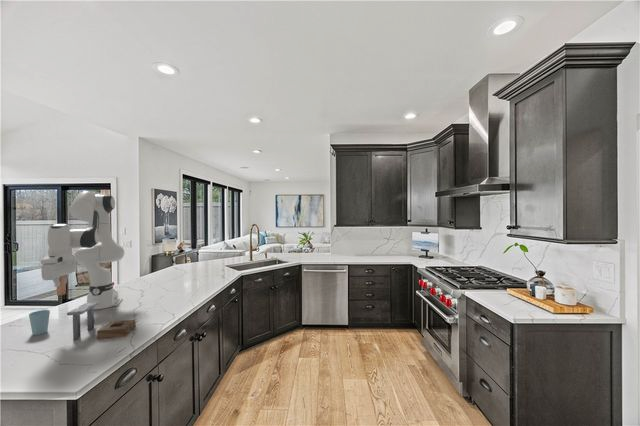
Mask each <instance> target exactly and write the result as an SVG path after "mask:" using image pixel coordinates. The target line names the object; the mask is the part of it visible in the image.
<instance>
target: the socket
mask: <svg viewBox="0 0 640 426" xmlns="http://www.w3.org/2000/svg"><path fill="white" fill-rule="evenodd" d="M136 322H137V321H136V319H126V320H115V321H113V320H112V321H108V322H107V323H106V324H104V325H103V326H102V327H100V328H98V329H97V330H96V334H97V335H96V336H97V340H104V339H115V338H123V337H124V338H125V337H127V336H129V334H130V333H131V332H132V331H133V330H134V329H135V328H136V327H137V324H136Z"/></svg>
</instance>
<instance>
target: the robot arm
mask: <svg viewBox="0 0 640 426" xmlns="http://www.w3.org/2000/svg"><path fill="white" fill-rule="evenodd" d="M115 206H116V200H115V197H114V196H112V195H110V194H95V193H93V192H92V191H87V190H84V191H80V192H79V193H78V194H77V195H76V196H75V197H74V198H73V199H72V200H71V204H70V206H69V209H68V210H69V211H68V212H69V214H70V216H71V217H72V218H74V219H76V220H77V221H82V222H85V223H88V227H87V228H83V229H80V228H79V229H78V228H77V229H71V227H70V225H69V224H68V223H55V224H51V225H50V226H49V227H48V229H47V230H48V231H47V244H48V245H47V246H48V249H47V254H46V255H45V256H43V258H41V260H40V264H41V278H42V280H43V281H52V282H53V283H54V287H56V288H57V287H58V286H61V282H59V279H60V278H59V277H61V276H64V275H65V278H66V284H68V278H69V276H70V274H72V273H75V272H77V270H78V269H77V268H78V267H77V266H78V265H77V264H79V265H81V266H82V267H83V268H84V269H85V270H87V271H86V272H87V273H88V276H89V277H88V278H89V288H88V290H89V291H88V294H87V295H86V303H95V302H98V305H97V306H95V307H94V311H95V310H102V309H103V310H104V309H107V308H111V307H115V306H119V304H120V303H121V302H122V301H123V297H119V292H118V290H117V289H115V288H114V285H115V282H114V281H113V282H112V272H111V270H109V269H108V268H105V267H102V266H101V265H100V264H101V263H102V264H103V263H113V262H117V261H121V260H122V259H123V258H124V257H125V250H124V248H123V246H121V245H120V244H118V243H117V242H116V241H115V240H114V239H113V236H112V234H111V233H112V231H111V217H110V213H111V212H112V211H113V210H114V209H115ZM98 243H101V245H98ZM73 249H77V250H76V251H75V252H74V254H73V253H72V252H73Z"/></svg>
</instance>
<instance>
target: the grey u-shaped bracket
mask: <svg viewBox="0 0 640 426" xmlns="http://www.w3.org/2000/svg"><path fill="white" fill-rule="evenodd" d="M97 305H98V302H95V303H87V302H85V303H82V304H81V305H79V306H77V307H75V308H74V309H72V310H70V311H68V312H66V316H72V339H73V341H75V340H76V341H78V340H79V339H81V336H82V335H81V315H83V314H85V313H87V314H86V317H87V319H86V321H87V323H86V324H87V331H91V330H93V329H95V319H94V318H95V310H94V307H95V306H97Z"/></svg>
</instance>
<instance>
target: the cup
mask: <svg viewBox="0 0 640 426" xmlns="http://www.w3.org/2000/svg"><path fill="white" fill-rule="evenodd" d="M50 313H51V310H50V309H43V310H42V309H40V310H37V311H32V312H30V313H29V314H28V318H29V322H30V328H31V332H32V335H33V336H39V335H43V334H46V333H47V332H48V329H49V321H50Z"/></svg>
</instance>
